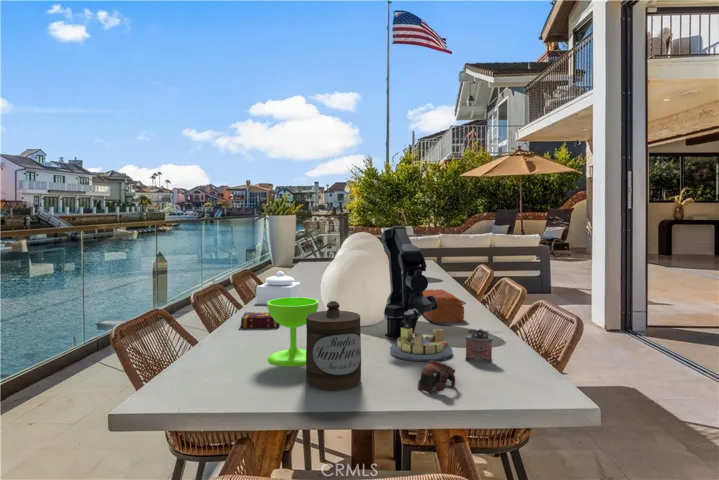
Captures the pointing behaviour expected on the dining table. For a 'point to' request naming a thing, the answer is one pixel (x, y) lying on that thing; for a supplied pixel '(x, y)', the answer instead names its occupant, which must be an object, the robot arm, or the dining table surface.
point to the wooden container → (333, 349)
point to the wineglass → (291, 326)
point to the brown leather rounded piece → (440, 379)
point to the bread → (444, 307)
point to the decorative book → (258, 320)
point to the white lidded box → (277, 288)
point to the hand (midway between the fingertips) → (412, 333)
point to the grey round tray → (421, 357)
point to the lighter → (478, 347)
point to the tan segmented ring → (421, 341)
